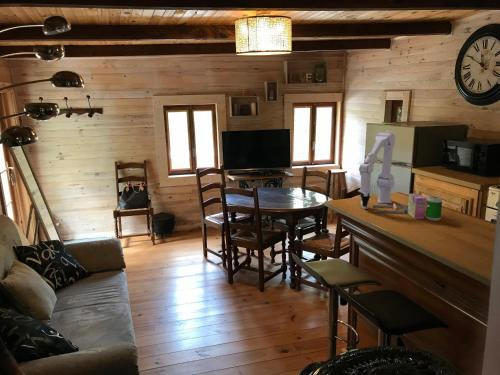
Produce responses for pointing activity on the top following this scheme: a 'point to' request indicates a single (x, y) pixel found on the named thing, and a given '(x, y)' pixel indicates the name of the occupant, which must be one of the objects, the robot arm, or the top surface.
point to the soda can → (434, 208)
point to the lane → (391, 207)
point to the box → (416, 206)
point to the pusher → (394, 207)
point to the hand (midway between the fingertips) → (364, 205)
